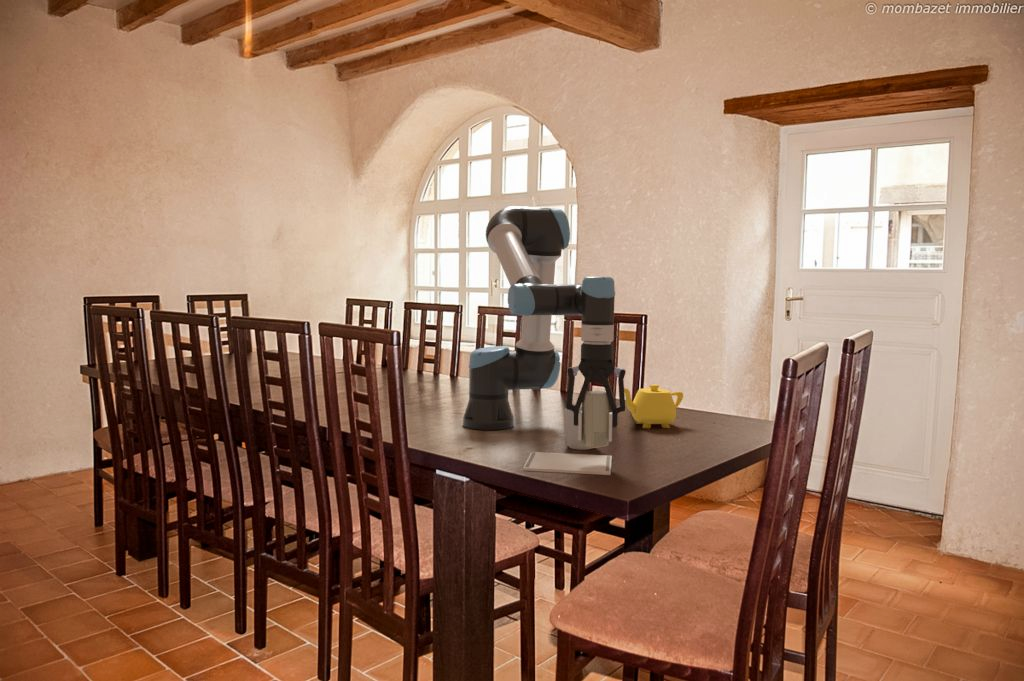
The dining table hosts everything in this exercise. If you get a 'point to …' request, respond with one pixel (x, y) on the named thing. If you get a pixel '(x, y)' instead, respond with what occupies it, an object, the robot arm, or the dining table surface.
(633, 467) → the dining table surface
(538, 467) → the white tray
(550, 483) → the dining table surface
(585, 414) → the box
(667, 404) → the teapot
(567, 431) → the mug
